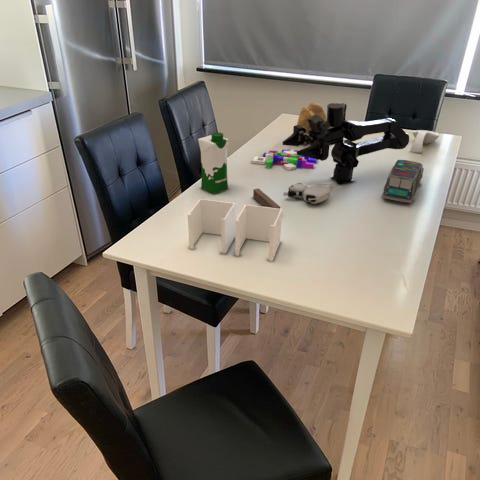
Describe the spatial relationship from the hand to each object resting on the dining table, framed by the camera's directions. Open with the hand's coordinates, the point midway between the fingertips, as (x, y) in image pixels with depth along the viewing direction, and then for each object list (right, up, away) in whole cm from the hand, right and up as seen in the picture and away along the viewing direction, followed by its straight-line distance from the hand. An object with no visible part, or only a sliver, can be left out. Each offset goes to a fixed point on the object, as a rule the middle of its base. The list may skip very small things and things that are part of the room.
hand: (289, 148), depth 164 cm
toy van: (+42, -12, +12) cm, 45 cm away
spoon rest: (+65, +20, +52) cm, 85 cm away
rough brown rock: (+17, +23, +54) cm, 61 cm away
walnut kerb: (-8, -20, 0) cm, 22 cm away
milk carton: (-26, -11, +12) cm, 31 cm away
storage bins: (-18, -37, -20) cm, 46 cm away
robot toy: (+7, -16, +6) cm, 18 cm away
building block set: (+2, +7, +35) cm, 36 cm away
